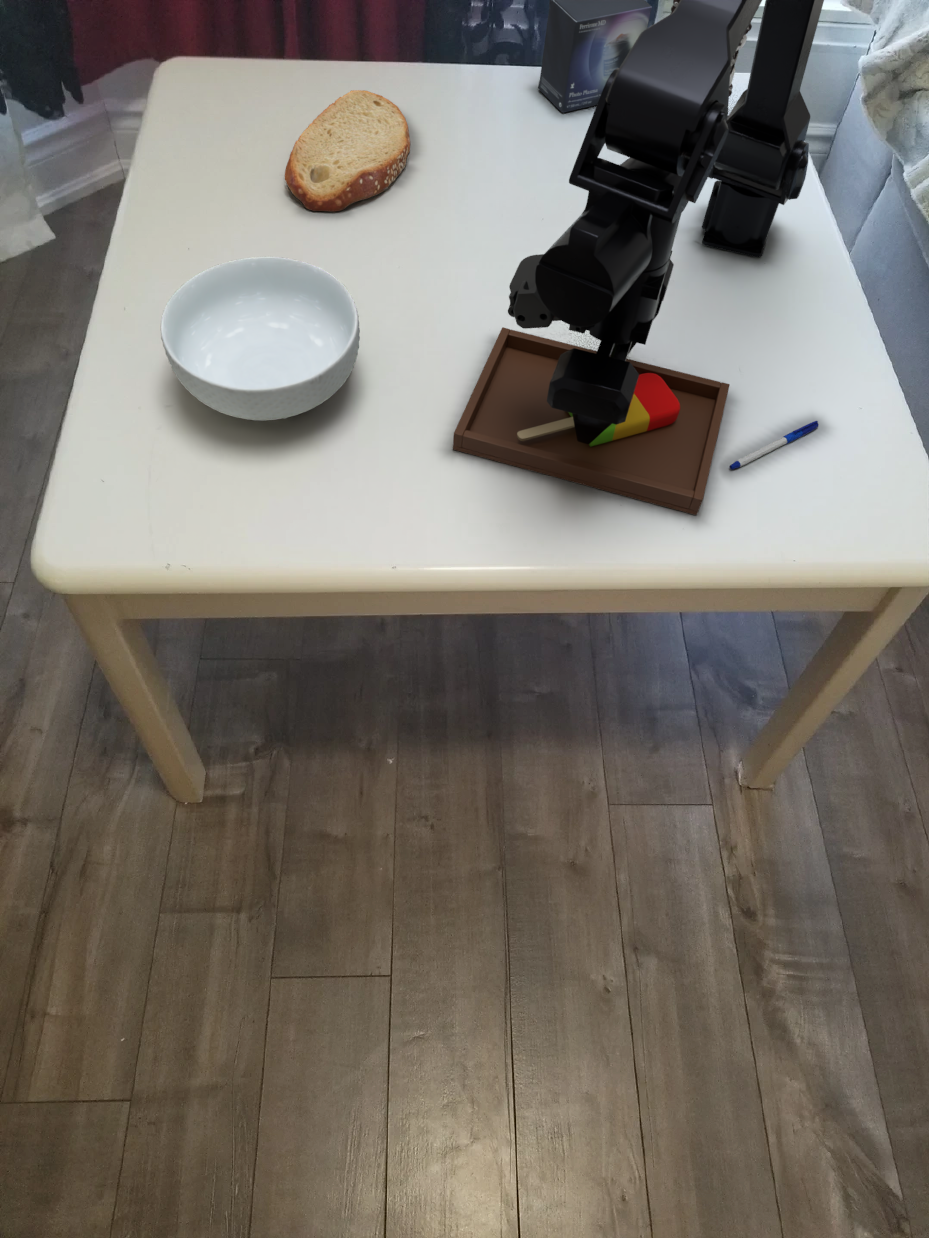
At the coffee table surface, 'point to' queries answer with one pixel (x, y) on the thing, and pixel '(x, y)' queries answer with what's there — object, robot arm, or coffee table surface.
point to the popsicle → (645, 413)
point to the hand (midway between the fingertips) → (596, 405)
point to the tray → (517, 400)
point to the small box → (587, 47)
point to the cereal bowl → (261, 336)
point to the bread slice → (348, 152)
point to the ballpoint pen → (775, 444)
